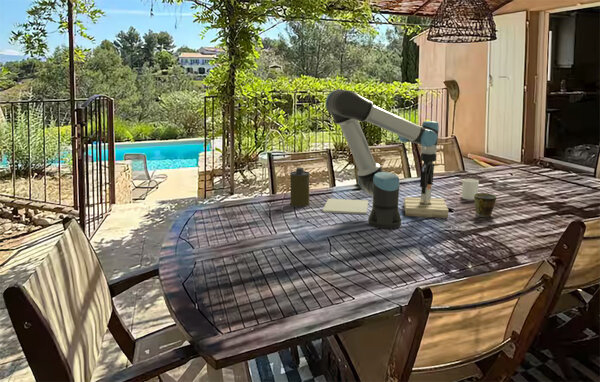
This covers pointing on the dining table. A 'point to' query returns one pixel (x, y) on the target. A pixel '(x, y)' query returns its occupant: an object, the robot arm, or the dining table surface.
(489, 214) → the ceramic cup
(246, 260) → the dining table surface
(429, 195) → the white peg
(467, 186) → the cup
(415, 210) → the block
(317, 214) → the dining table surface
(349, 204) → the pad
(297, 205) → the canister
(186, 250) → the dining table surface
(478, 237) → the dining table surface
